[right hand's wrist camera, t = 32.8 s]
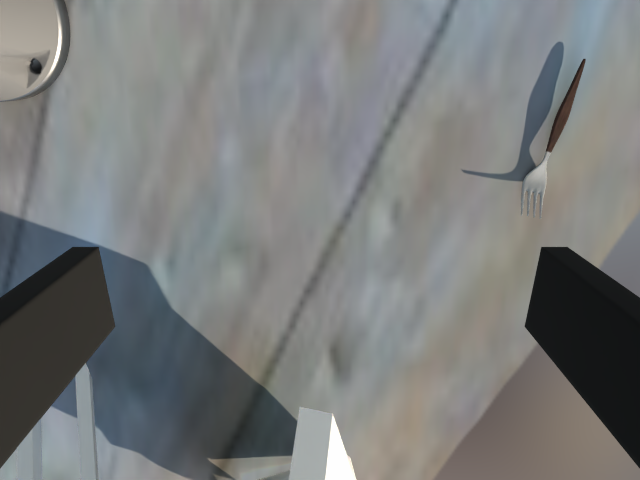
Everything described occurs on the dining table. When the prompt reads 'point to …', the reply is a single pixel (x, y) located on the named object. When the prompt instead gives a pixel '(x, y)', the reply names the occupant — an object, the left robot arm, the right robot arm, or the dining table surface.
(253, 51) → the dining table surface
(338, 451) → the white plastic object
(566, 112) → the fork
